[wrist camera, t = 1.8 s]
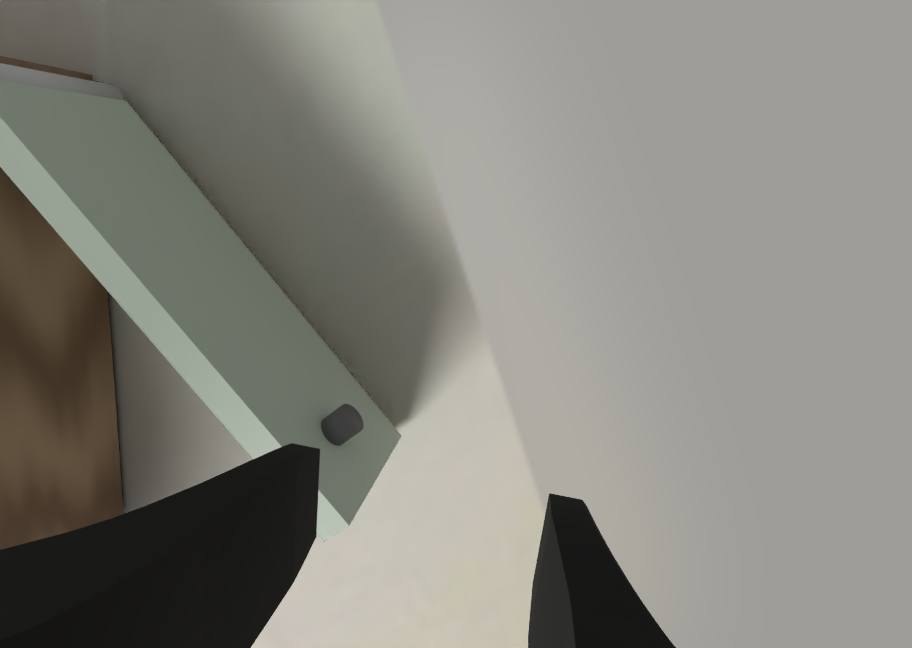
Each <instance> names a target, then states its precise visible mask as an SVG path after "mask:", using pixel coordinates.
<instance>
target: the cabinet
mask: <svg viewBox="0 0 912 648" xmlns="http://www.w3.org/2000/svg"><path fill="white" fill-rule="evenodd" d="M0 63H2V64H7V65H13V66H18V67H23V68H28V69H33V70H38V71H43V72H49V73H54V74H59V75H64V76H69V77H74V78H80V79H85V80H90V81H93V80H92V75H88V74H83V73H78V72H73V71H68V70H63V69H59V68H54V67H49V66H44V65H39V64H34V63H30V62H25V61H20V60H15V59H10V58H5V57H0ZM122 514H124V512H123V498H122V484H121V470H120V456H119V442H118V428H117V414H116V400H115V387H114V373H113V359H112V345H111V331H110V317H109V303H108V291H107V290H106V289H105V287H104V286H103V285H102V284H101V283H100V282H99V280H98V279H97V278H96V277H95V276H94V275H93V274H92V272H91V271H90V270H89V269H88V268H87V267H86V265H85V264H84V263H83V262H82V261H81V260H80V259H79V257H78V256H77V255H76V254H75V253H74V252H73V250H72V249H71V248H70V247H69V246H68V245H67V243H66V242H65V241H64V240H63V239H62V238H61V237H60V235H59V234H58V233H57V232H56V231H55V230H54V228H53V227H52V226H51V225H50V224H49V223H48V221H47V220H46V219H45V218H44V217H43V216H42V215H41V213H40V212H39V211H38V210H37V209H36V208H35V206H34V205H33V204H32V203H31V202H30V201H29V199H28V198H27V197H26V196H25V195H24V194H23V193H22V191H21V190H20V189H19V188H18V187H17V186H16V184H15V183H14V182H13V181H12V180H11V179H10V177H9V176H8V175H7V174H6V173H5V172H4V171H3V169H2V168H1V167H0V550H2V549H6V548H9V547H13V546H17V545H21V544H25V543H28V542H32V541H36V540H40V539H44V538H47V537H51V536H55V535H59V534H63V533H66V532H70V531H73V530H76V529H80V528H83V527H86V526H89V525H92V524H95V523H98V522H101V521H104V520H108V519H111V518H114V517H117V516H119V515H122Z"/></svg>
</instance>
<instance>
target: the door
mask: <svg viewBox="0 0 912 648" xmlns="http://www.w3.org/2000/svg"><path fill="white" fill-rule="evenodd" d="M0 167H1V168H2V169H3V171H4V172H5V173H6V174H7V175H8V176H9V177H10V179H11V180H12V181H13V182H14V183H15V184H16V186H17V187H18V188H19V189H20V190H21V191H22V193H23V194H24V195H25V196H26V197H27V198H28V199H29V201H30V202H31V203H32V204H33V205H34V206H35V208H36V209H37V210H38V211H39V212H40V213H41V215H42V216H43V217H44V218H45V219H46V220H47V221H48V223H49V224H50V225H51V226H52V227H53V228H54V230H55V231H56V232H57V233H58V234H59V235H60V237H61V238H62V239H63V240H64V241H65V242H66V243H67V245H68V246H69V247H70V248H71V249H72V250H73V252H74V253H75V254H76V255H77V256H78V257H79V259H80V260H81V261H82V262H83V263H84V264H85V265H86V267H87V268H88V269H89V270H90V271H91V272H92V274H93V275H94V276H95V277H96V278H97V279H98V280H99V282H100V283H101V284H102V285H103V286H104V287H105V289H106V290H107V291H108V292H109V293H110V294H111V296H112V297H113V298H114V299H115V300H116V301H117V302H118V304H119V305H120V306H121V307H122V308H123V309H124V311H125V312H126V313H127V314H128V315H129V316H130V318H131V319H132V320H133V321H134V322H135V323H136V324H137V326H138V327H139V328H140V329H141V330H142V331H143V333H144V334H145V335H146V336H147V337H148V338H149V340H150V341H151V342H152V343H153V344H154V345H155V346H156V348H157V349H158V350H159V351H160V352H161V353H162V355H163V356H164V357H165V358H166V359H167V360H168V362H169V363H170V364H171V365H172V366H173V367H174V368H175V370H176V371H177V372H178V373H179V374H180V375H181V377H182V378H183V379H184V380H185V381H186V382H187V384H188V385H189V386H190V387H191V388H192V389H193V390H194V392H195V393H196V394H197V395H198V396H199V397H200V399H201V400H202V401H203V402H204V403H205V404H206V406H207V407H208V408H209V409H210V410H211V411H212V412H213V414H214V415H215V416H216V417H217V418H218V419H219V421H220V422H221V423H222V424H223V425H224V426H225V428H226V429H227V430H228V431H229V432H230V433H231V434H232V436H233V437H234V438H235V439H236V440H237V441H238V443H239V444H240V445H241V446H242V447H243V448H244V450H245V451H246V452H247V453H248V454H249V455H250V456H251V458H252V459H255V458H257V457H260V456H262V455H264V454H266V453H269V452H271V451H273V450H275V449H278V448H280V447H283V446H285V445H288V444H291V443H293V444H298V445H303V446H308V447H313V448H319V449H320V465H319V487H318V509H317V531H316V533H317V534H318V535H319V536H320V537H321V539H322V540H323V541H326V540H328V539H329V538H331V537H332V536H334V535H335V534H337V533H338V532H340V531H342V530H343V529H345V528H346V527H348V526H349V525H350V523H351V522H352V520H353V518H354V516H355V515H356V513H357V511H358V510H359V508H360V506H361V504H362V503H363V501H364V499H365V498H366V496H367V494H368V492H369V491H370V489H371V487H372V486H373V484H374V482H375V480H376V479H377V477H378V475H379V474H380V472H381V470H382V468H383V467H384V465H385V463H386V462H387V460H388V458H389V456H390V455H391V453H392V451H393V450H394V448H395V446H396V444H397V443H398V441H399V439H400V438H401V435H400V433H399V432H398V431H397V430H396V429H395V427H394V426H393V425H392V424H391V422H390V421H389V420H388V419H387V418H386V416H385V415H384V414H383V413H382V412H381V410H380V409H379V408H378V407H377V405H376V404H375V403H374V402H373V401H372V399H371V398H370V397H369V396H368V394H367V393H366V392H365V391H364V390H363V388H362V387H361V386H360V385H359V384H358V382H357V381H356V380H355V379H354V377H353V376H352V375H351V374H350V373H349V371H348V370H347V369H346V368H345V366H344V365H343V364H342V363H341V362H340V360H339V359H338V358H337V357H336V356H335V354H334V353H333V352H332V351H331V349H330V348H329V347H328V346H327V345H326V343H325V342H324V341H323V340H322V338H321V337H320V336H319V335H318V334H317V332H316V331H315V330H314V329H313V328H312V326H311V325H310V324H309V323H308V321H307V320H306V319H305V318H304V317H303V315H302V314H301V313H300V312H299V310H298V309H297V308H296V307H295V306H294V304H293V303H292V302H291V301H290V300H289V298H288V297H287V296H286V295H285V293H284V292H283V291H282V290H281V289H280V287H279V286H278V285H277V284H276V282H275V281H274V280H273V279H272V278H271V276H270V275H269V274H268V273H267V271H266V270H265V269H264V268H263V267H262V265H261V264H260V263H259V262H258V261H257V259H256V258H255V257H254V256H253V254H252V253H251V252H250V251H249V250H248V248H247V247H246V246H245V245H244V243H243V242H242V241H241V240H240V239H239V237H238V236H237V235H236V234H235V233H234V231H233V230H232V229H231V228H230V226H229V225H228V224H227V223H226V222H225V220H224V219H223V218H222V217H221V215H220V214H219V213H218V212H217V211H216V209H215V208H214V207H213V206H212V205H211V203H210V202H209V201H208V200H207V198H206V197H205V196H204V195H203V194H202V192H201V191H200V190H199V189H198V187H197V186H196V185H195V184H194V183H193V181H192V180H191V179H190V178H189V177H188V175H187V174H186V173H185V172H184V170H183V169H182V168H181V167H180V166H179V164H178V163H177V162H176V161H175V159H174V158H173V157H172V156H171V155H170V153H169V152H168V151H167V150H166V149H165V147H164V146H163V145H162V144H161V142H160V141H159V140H158V139H157V138H156V136H155V135H154V134H153V133H152V131H151V130H150V129H149V128H148V127H147V125H146V124H145V123H144V122H143V120H142V119H141V118H140V117H139V116H138V114H137V113H136V112H135V111H134V110H133V108H132V107H131V106H130V105H129V103H128V102H127V101H124V98H123V95H122V93H121V92H120V90H119V89H118V88H117V87H115V86H113V85H110V84H105V83H100V82H95V81H90V80H85V79H80V78H74V77H69V76H64V75H59V74H54V73H49V72H43V71H38V70H33V69H28V68H23V67H18V66H13V65H7V64H2V63H0Z"/></svg>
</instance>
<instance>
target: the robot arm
mask: <svg viewBox="0 0 912 648" xmlns="http://www.w3.org/2000/svg"><path fill="white" fill-rule="evenodd" d="M319 465H320V449H319V448H313V447H308V446H303V445H298V444H293V443H291V444H288V445H285V446H283V447H280V448H278V449H275V450H273V451H271V452H269V453H266V454H264V455H262V456H260V457H257V458H255V459H253V460H251V461H249V462H247V463H244V464H242V465H240V466H238V467H236V468H234V469H231V470H229V471H227V472H225V473H223V474H220V475H218V476H216V477H214V478H212V479H209V480H207V481H205V482H203V483H200V484H198V485H196V486H193V487H191V488H188V489H186V490H183V491H181V492H179V493H176V494H174V495H171V496H169V497H166V498H164V499H162V500H159V501H157V502H154V503H152V504H149V505H147V506H144V507H142V508H139V509H136V510H134V511H131V512H128V513H125V514H122V515H119V516H117V517H114V518H111V519H108V520H104V521H101V522H98V523H95V524H92V525H89V526H86V527H83V528H80V529H76V530H73V531H70V532H66V533H63V534H59V535H55V536H51V537H47V538H44V539H40V540H36V541H32V542H28V543H25V544H21V545H17V546H13V547H9V548H6V549H2V550H0V648H251V646H252V645H253V643H254V642H255V640H256V639H257V637H258V636H259V634H260V633H261V631H262V630H263V628H264V627H265V625H266V624H267V622H268V621H269V619H270V618H271V616H272V615H273V613H274V612H275V610H276V609H277V607H278V605H279V604H280V602H281V601H282V599H283V598H284V596H285V595H286V593H287V592H288V590H289V589H290V587H291V585H292V584H293V582H294V580H295V578H296V577H297V575H298V573H299V571H300V569H301V567H302V565H303V563H304V561H305V559H306V557H307V555H308V552H309V550H310V548H311V546H312V544H313V542H314V540H315V538H316V531H317V509H318V487H319ZM528 648H676V647H675V646H673V644H672V643H671V641H670V640H669V639H668V637H667V636H666V635H665V633H664V632H663V631H662V630H661V628H660V627H659V625H658V624H657V622H656V621H655V620H654V618H653V617H652V616H651V614H650V613H649V611H648V610H647V608H646V607H645V605H644V604H643V602H642V601H641V600H640V598H639V597H638V595H637V593H636V592H635V590H634V589H633V587H632V586H631V584H630V583H629V581H628V579H627V578H626V576H625V575H624V573H623V571H622V570H621V568H620V566H619V565H618V563H617V561H616V560H615V558H614V556H613V555H612V553H611V551H610V549H609V548H608V546H607V544H606V542H605V540H604V539H603V537H602V535H601V533H600V531H599V529H598V528H597V526H596V524H595V522H594V520H593V518H592V516H591V514H590V512H589V510H588V508H587V506H586V504H585V503H584V502H583V500H580V499H575V498H570V497H565V496H559V495H555V494H549V498H548V504H547V509H546V514H545V520H544V525H543V531H542V536H541V542H540V547H539V553H538V558H537V564H536V569H535V574H534V580H533V587H532V599H531V610H530V622H529V634H528Z"/></svg>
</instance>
